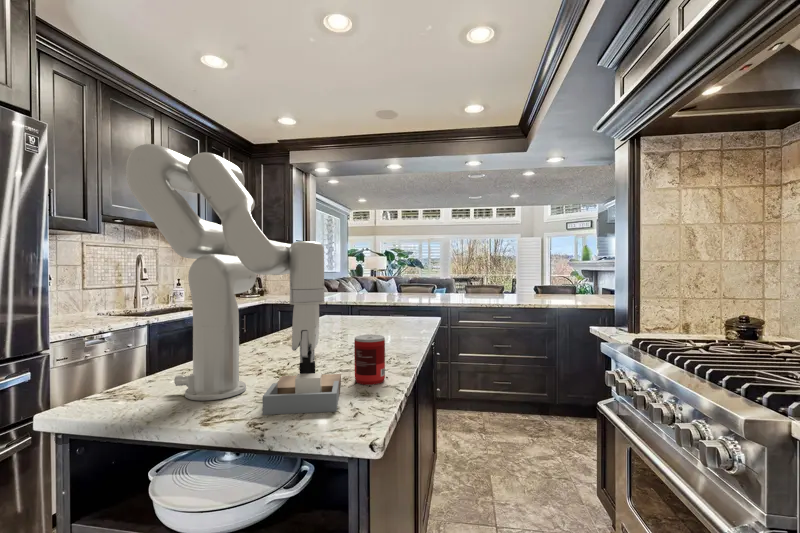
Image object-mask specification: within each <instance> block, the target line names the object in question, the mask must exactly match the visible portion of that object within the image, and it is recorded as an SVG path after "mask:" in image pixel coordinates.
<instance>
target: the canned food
mask: <svg viewBox="0 0 800 533" xmlns="http://www.w3.org/2000/svg"><path fill="white" fill-rule="evenodd" d="M353 344H354V355H353V356H354V380H355V382H356V383H357V384H359V385H364V386H371V385H372V386H374V385H378V384H379V385H380V384H382V383H384V381H385V379H386V339H385V335H380V334H361V335H356V336H354V342H353ZM373 384H374V385H373Z"/></svg>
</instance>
